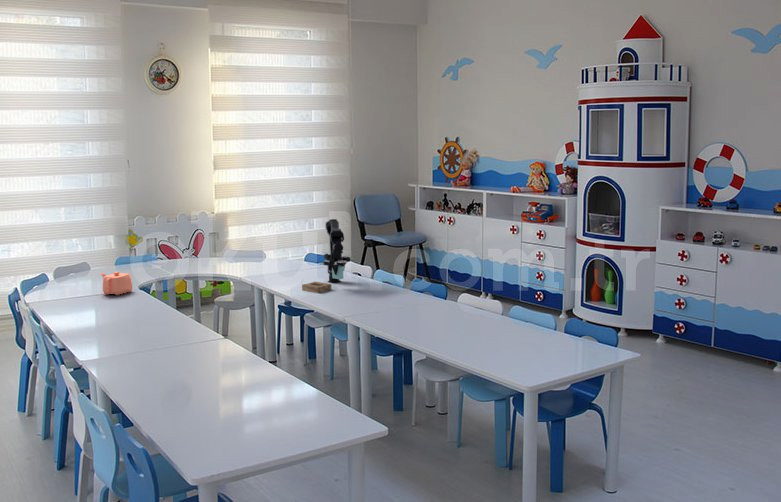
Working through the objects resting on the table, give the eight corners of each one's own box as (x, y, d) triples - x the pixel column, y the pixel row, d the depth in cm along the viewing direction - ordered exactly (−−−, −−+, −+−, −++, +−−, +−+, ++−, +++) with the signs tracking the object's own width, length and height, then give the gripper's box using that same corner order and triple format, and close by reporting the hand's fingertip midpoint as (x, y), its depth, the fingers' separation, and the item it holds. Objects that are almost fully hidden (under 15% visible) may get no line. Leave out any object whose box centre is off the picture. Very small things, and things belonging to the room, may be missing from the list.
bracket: (335, 277, 491) (335, 264, 490) (345, 278, 486) (344, 266, 484) (332, 278, 489) (331, 265, 487) (342, 279, 483) (341, 267, 482)
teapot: (112, 288, 501) (110, 268, 498) (137, 290, 494) (135, 269, 492) (90, 295, 482) (88, 274, 480) (116, 297, 476) (114, 275, 473)
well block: (315, 286, 495) (315, 281, 494) (331, 289, 486) (331, 284, 485) (302, 290, 486) (301, 284, 485) (317, 293, 477) (317, 287, 476)
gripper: (338, 246, 497) (338, 270, 499) (317, 250, 483) (318, 275, 485) (350, 248, 490) (351, 272, 492) (329, 252, 476) (330, 277, 478)
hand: (337, 274), depth 487 cm, fingers closed on bracket, 3 cm apart
